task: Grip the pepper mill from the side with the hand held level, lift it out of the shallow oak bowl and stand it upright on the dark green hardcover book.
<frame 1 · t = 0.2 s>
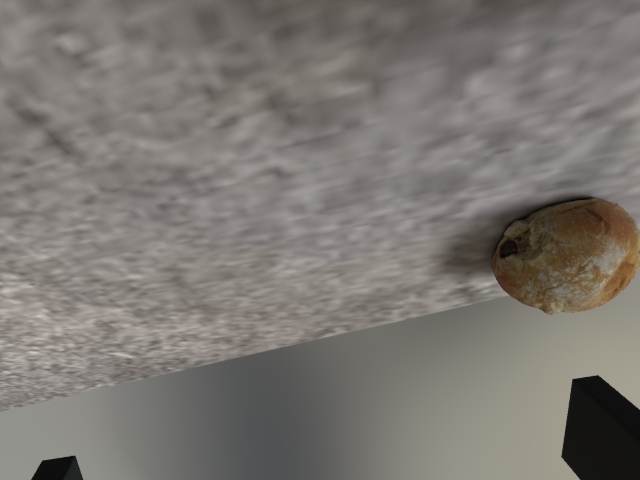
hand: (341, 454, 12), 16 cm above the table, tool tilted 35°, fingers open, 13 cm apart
bread roll: (556, 231, 34), on the table
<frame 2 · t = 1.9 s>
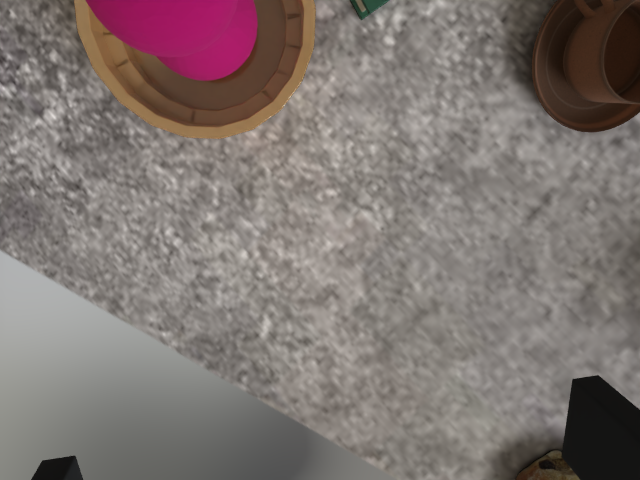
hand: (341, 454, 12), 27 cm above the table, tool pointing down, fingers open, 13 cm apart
bowl: (208, 29, 32), on the table
pepper mill: (207, 29, 32), resting on bowl
cup and saucer: (587, 56, 36), on the table
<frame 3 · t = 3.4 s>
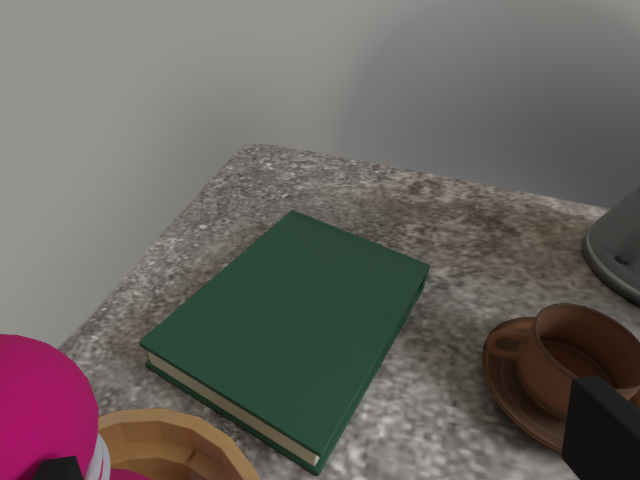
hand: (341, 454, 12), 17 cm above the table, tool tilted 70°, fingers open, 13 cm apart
book: (300, 323, 37), on the table
cup and saucer: (553, 394, 34), on the table
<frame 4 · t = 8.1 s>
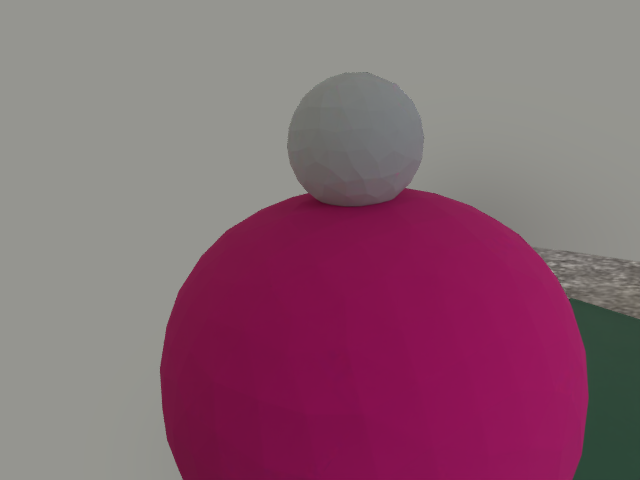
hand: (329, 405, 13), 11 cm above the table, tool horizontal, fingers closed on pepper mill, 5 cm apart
book: (615, 447, 25), on the table
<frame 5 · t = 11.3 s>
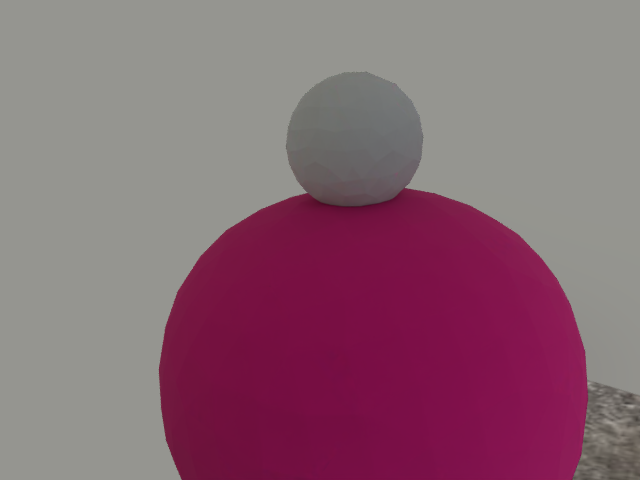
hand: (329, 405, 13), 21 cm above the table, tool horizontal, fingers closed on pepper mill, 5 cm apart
when the fingers open (14 cm above the table, at t = 15.0 s): pepper mill stays where it is, resting on book.
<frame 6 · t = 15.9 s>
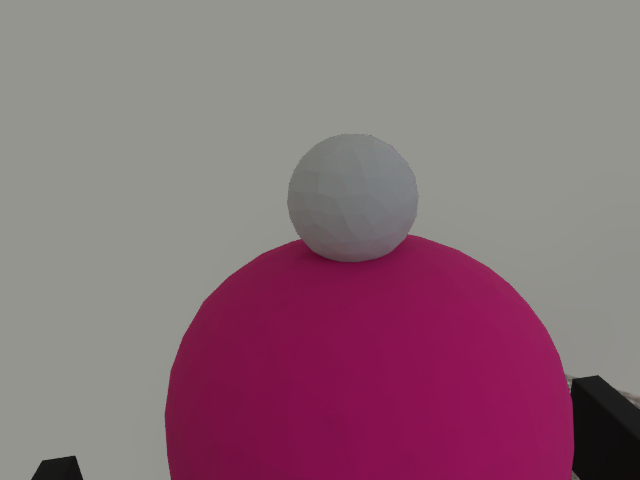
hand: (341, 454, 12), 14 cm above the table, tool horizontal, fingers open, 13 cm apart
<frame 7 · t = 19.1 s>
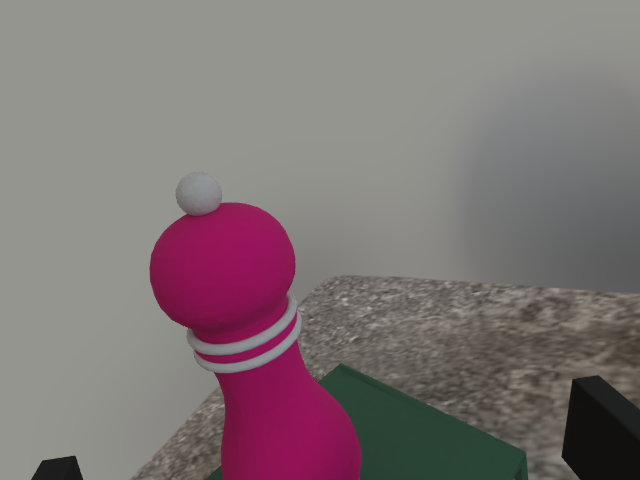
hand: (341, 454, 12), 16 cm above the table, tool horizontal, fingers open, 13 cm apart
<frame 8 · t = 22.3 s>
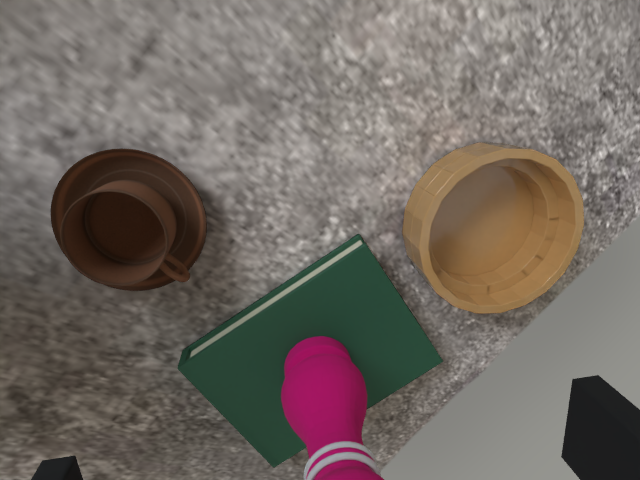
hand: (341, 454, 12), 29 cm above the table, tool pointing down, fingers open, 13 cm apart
bowl: (475, 220, 42), on the table
pepper mill: (317, 363, 41), point 3 cm above the table, touching book
book: (313, 346, 44), on the table
cup and saucer: (137, 216, 37), on the table
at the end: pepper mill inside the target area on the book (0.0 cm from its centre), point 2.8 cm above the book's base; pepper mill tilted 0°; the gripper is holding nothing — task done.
